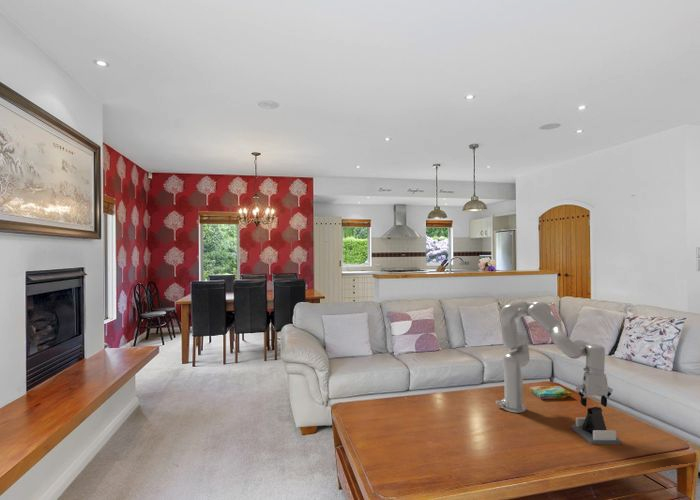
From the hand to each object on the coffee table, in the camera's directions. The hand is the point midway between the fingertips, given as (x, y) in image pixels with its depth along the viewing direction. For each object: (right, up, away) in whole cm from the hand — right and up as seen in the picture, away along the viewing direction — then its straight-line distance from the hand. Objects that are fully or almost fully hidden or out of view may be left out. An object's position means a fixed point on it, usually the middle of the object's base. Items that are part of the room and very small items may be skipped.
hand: (593, 405), depth 181 cm
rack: (0, -14, 0) cm, 14 cm away
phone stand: (0, -13, 0) cm, 13 cm away
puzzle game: (+5, -15, +49) cm, 51 cm away
